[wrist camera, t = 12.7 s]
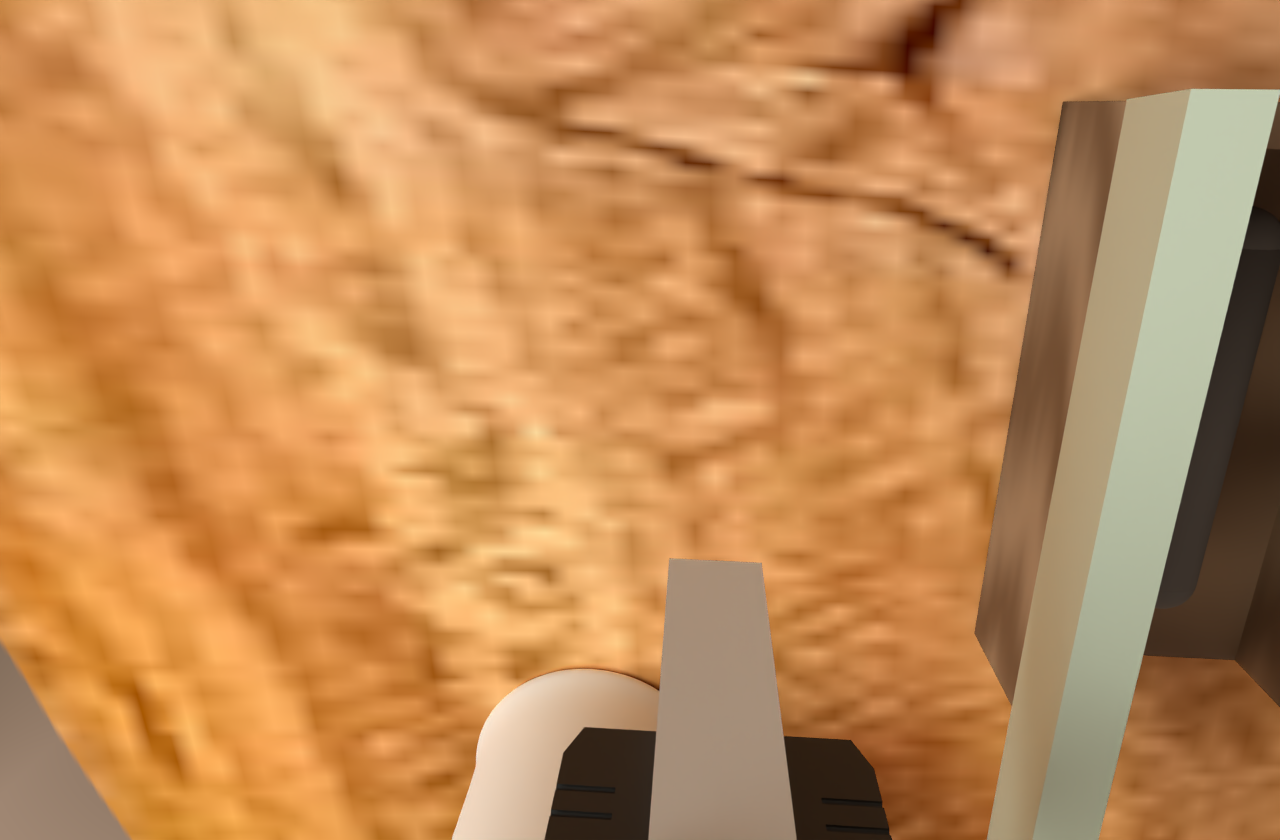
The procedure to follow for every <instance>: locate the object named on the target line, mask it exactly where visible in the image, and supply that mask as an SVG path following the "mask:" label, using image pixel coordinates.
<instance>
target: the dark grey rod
mask: <svg viewBox="0 0 1280 840" xmlns="http://www.w3.org/2000/svg"><path fill="white" fill-rule="evenodd" d="M1279 266H1280V222H1279V221H1278V219H1277V218H1276V217H1275V216H1274V215H1273V214H1272V213H1270V212H1268V211H1266V210H1265V209H1262V208H1259V207H1256V206H1252V210H1251V214H1250V218H1249V222H1248V227H1247V231H1246V235H1245V239H1244V243H1243V247H1242V251H1241V255H1240V259H1239V264H1238V268H1237V272H1236V276H1235V280H1234V284H1233V288H1232V292H1231V296H1230V300H1229V305H1228V309H1227V313H1226V317H1225V321H1224V325H1223V329H1222V333H1221V337H1220V342H1219V346H1218V350H1217V354H1216V358H1215V362H1214V366H1213V370H1212V374H1211V379H1210V383H1209V387H1208V391H1207V395H1206V399H1205V403H1204V407H1203V411H1202V416H1201V420H1200V424H1199V428H1198V432H1197V436H1196V440H1195V444H1194V448H1193V453H1192V457H1191V461H1190V465H1189V469H1188V473H1187V477H1186V481H1185V485H1184V490H1183V494H1182V498H1181V502H1180V506H1179V510H1178V514H1177V518H1176V522H1175V526H1174V531H1173V535H1172V539H1171V543H1170V547H1169V551H1168V555H1167V559H1166V563H1165V568H1164V572H1163V576H1162V580H1161V584H1160V588H1159V592H1158V596H1157V600H1156V605H1155V608H1158V609H1168V608H1173V607H1176V606H1179V605H1181V604H1183V603H1184V602H1186V601H1187V600H1188V599H1189V598H1190V597H1191V595H1192V594H1193V593H1194V591H1195V588H1196V586H1197V582H1198V578H1199V574H1200V571H1201V567H1202V563H1203V559H1204V555H1205V551H1206V547H1207V544H1208V540H1209V536H1210V532H1211V528H1212V524H1213V520H1214V517H1215V513H1216V509H1217V505H1218V501H1219V497H1220V493H1221V490H1222V486H1223V482H1224V478H1225V474H1226V470H1227V466H1228V463H1229V459H1230V455H1231V451H1232V447H1233V443H1234V439H1235V436H1236V432H1237V428H1238V424H1239V420H1240V416H1241V412H1242V408H1243V405H1244V401H1245V397H1246V393H1247V389H1248V385H1249V381H1250V378H1251V374H1252V370H1253V366H1254V362H1255V358H1256V354H1257V351H1258V347H1259V343H1260V339H1261V335H1262V331H1263V327H1264V324H1265V320H1266V316H1267V312H1268V308H1269V304H1270V300H1271V297H1272V293H1273V289H1274V285H1275V281H1276V277H1277V273H1278V270H1279Z"/></svg>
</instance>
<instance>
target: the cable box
mask: <svg viewBox="0 0 1280 840" xmlns="http://www.w3.org/2000/svg"><path fill="white" fill-rule="evenodd" d="M1125 107H1126V101H1090V102H1063V105H1062V111H1061V117H1060V123H1059V129H1058V135H1057V141H1056V147H1055V153H1054V159H1053V165H1052V171H1051V177H1050V183H1049V189H1048V195H1047V201H1046V207H1045V213H1044V219H1043V225H1042V231H1041V237H1040V243H1039V249H1038V255H1037V261H1036V267H1035V273H1034V279H1033V285H1032V291H1031V297H1030V303H1029V309H1028V315H1027V321H1026V327H1025V333H1024V339H1023V345H1022V351H1021V357H1020V363H1019V369H1018V375H1017V381H1016V387H1015V393H1014V399H1013V405H1012V411H1011V417H1010V423H1009V429H1008V435H1007V441H1006V447H1005V453H1004V459H1003V465H1002V471H1001V477H1000V483H999V489H998V495H997V501H996V507H995V513H994V519H993V525H992V531H991V537H990V543H989V549H988V555H987V561H986V567H985V573H984V579H983V585H982V591H981V597H980V603H979V609H978V615H977V621H976V627H975V635H976V637H977V639H978V641H979V643H980V645H981V647H982V649H983V651H984V653H985V655H986V657H987V659H988V661H989V663H990V665H991V667H992V668H993V670H994V672H995V674H996V676H997V678H998V680H999V682H1000V684H1001V686H1002V688H1003V690H1004V692H1005V694H1006V696H1007V698H1008V700H1009V702H1010V704H1011V705H1012V704H1013V699H1014V693H1015V688H1016V683H1017V677H1018V672H1019V667H1020V662H1021V656H1022V651H1023V646H1024V640H1025V635H1026V630H1027V625H1028V619H1029V614H1030V609H1031V603H1032V598H1033V593H1034V588H1035V582H1036V577H1037V572H1038V566H1039V561H1040V556H1041V551H1042V545H1043V540H1044V535H1045V529H1046V524H1047V519H1048V514H1049V508H1050V503H1051V498H1052V492H1053V487H1054V482H1055V477H1056V471H1057V466H1058V461H1059V455H1060V450H1061V445H1062V440H1063V434H1064V429H1065V424H1066V418H1067V413H1068V408H1069V403H1070V397H1071V392H1072V387H1073V381H1074V376H1075V371H1076V366H1077V360H1078V355H1079V350H1080V344H1081V339H1082V334H1083V329H1084V323H1085V318H1086V313H1087V307H1088V302H1089V297H1090V292H1091V286H1092V281H1093V276H1094V270H1095V265H1096V260H1097V255H1098V249H1099V244H1100V239H1101V233H1102V228H1103V223H1104V218H1105V212H1106V207H1107V202H1108V196H1109V191H1110V186H1111V181H1112V175H1113V170H1114V165H1115V160H1116V154H1117V149H1118V144H1119V138H1120V133H1121V128H1122V123H1123V117H1124V112H1125ZM1253 206H1256V207H1259V208H1262V209H1265V210H1266V211H1268V212H1270V213H1272V214H1273V215H1274V216H1275V217H1276V218H1277V219H1278V221H1279V222H1280V102H1278V103H1277V107H1276V111H1275V116H1274V120H1273V124H1272V128H1271V132H1270V136H1269V140H1268V144H1267V148H1266V153H1265V157H1264V161H1263V165H1262V169H1261V173H1260V177H1259V181H1258V185H1257V190H1256V194H1255V198H1254V202H1253ZM1143 655H1147V656H1166V657H1186V658H1205V659H1224V660H1235V661H1236V662H1237V663H1238V664H1239V665H1240V666H1241V667H1242V668H1243V669H1244V670H1245V671H1246V672H1247V673H1248V674H1249V675H1250V676H1251V677H1252V678H1253V679H1254V681H1255V682H1256V683H1257V684H1258V685H1259V686H1260V687H1261V688H1262V689H1263V690H1264V691H1265V692H1266V693H1267V694H1268V695H1269V696H1270V697H1271V698H1272V699H1273V700H1274V701H1275V702H1276V703H1277V705H1278V706H1279V707H1280V266H1279V270H1278V273H1277V277H1276V281H1275V285H1274V289H1273V293H1272V297H1271V300H1270V304H1269V308H1268V312H1267V316H1266V320H1265V324H1264V327H1263V331H1262V335H1261V339H1260V343H1259V347H1258V351H1257V354H1256V358H1255V362H1254V366H1253V370H1252V374H1251V378H1250V381H1249V385H1248V389H1247V393H1246V397H1245V401H1244V405H1243V408H1242V412H1241V416H1240V420H1239V424H1238V428H1237V432H1236V436H1235V439H1234V443H1233V447H1232V451H1231V455H1230V459H1229V463H1228V466H1227V470H1226V474H1225V478H1224V482H1223V486H1222V490H1221V493H1220V497H1219V501H1218V505H1217V509H1216V513H1215V517H1214V520H1213V524H1212V528H1211V532H1210V536H1209V540H1208V544H1207V547H1206V551H1205V555H1204V559H1203V563H1202V567H1201V571H1200V574H1199V578H1198V582H1197V586H1196V588H1195V591H1194V593H1193V594H1192V595H1191V597H1190V598H1189V599H1188V600H1187V601H1186V602H1184V603H1183V604H1181V605H1179V606H1176V607H1173V608H1168V609H1158V608H1155V609H1154V613H1153V617H1152V621H1151V625H1150V629H1149V633H1148V637H1147V642H1146V646H1145V650H1144V654H1143Z"/></svg>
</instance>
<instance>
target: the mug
mask: <svg viewBox="0 0 1280 840" xmlns="http://www.w3.org/2000/svg"><path fill="white" fill-rule="evenodd" d="M658 704H659V691H658V690H657V689H655V688H653V687H652V686H650V685H648V684H646V683H644V682H642V681H640V680H637V679H635V678H632V677H629V676H626V675H623V674H620V673H616V672H611V671H605V670H598V669H570V670H562V671H557V672H552V673H548V674H545V675H542V676H539V677H537V678H534V679H532V680H530V681H528V682H526V683H524V684H522V685H520V686H519V687H517V688H516V689H514V690H513V691H511V692H510V693H509V694H508V695H506V696H505V697H504V698H503V699H502V700H501V701H500V702H499V703H498V704H497V706H496V707H495V708H494V709H493V711H492V712H491V713H490V715H489V717H488V718H487V720H486V722H485V724H484V726H483V728H482V731H481V734H480V737H479V741H478V746H477V754H476V768H475V771H474V775H473V778H472V781H471V784H470V787H469V790H468V793H467V796H466V799H465V802H464V805H463V808H462V811H461V814H460V817H459V820H458V823H457V826H456V828H455V831H454V834H453V837H452V840H544V839H545V835H546V830H547V825H548V821H549V816H550V815H551V807H552V802H553V798H554V793H555V790H556V784H557V779H558V774H559V770H560V765H561V761H562V756H563V752H564V751H565V750H566V749H567V747H568V746H569V745H570V744H571V743H572V741H573V740H574V739H575V738H576V737H577V735H578V734H579V733H580V732H581V730H582V729H583V728H584V727H593V728H609V729H626V730H643V731H656V730H657V717H658Z"/></svg>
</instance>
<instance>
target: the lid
mask: <svg viewBox="0 0 1280 840" xmlns="http://www.w3.org/2000/svg"><path fill="white" fill-rule="evenodd" d="M1279 95H1280V90H1262V89H1187V90H1181V91H1175V92H1169V93H1163V94H1156V95H1150V96H1144V97H1138V98H1132V99H1127V101H1126V107H1125V112H1124V117H1123V123H1122V128H1121V133H1120V138H1119V144H1118V149H1117V154H1116V160H1115V165H1114V170H1113V175H1112V181H1111V186H1110V191H1109V196H1108V202H1107V207H1106V212H1105V218H1104V223H1103V228H1102V233H1101V239H1100V244H1099V249H1098V255H1097V260H1096V265H1095V270H1094V276H1093V281H1092V286H1091V292H1090V297H1089V302H1088V307H1087V313H1086V318H1085V323H1084V329H1083V334H1082V339H1081V344H1080V350H1079V355H1078V360H1077V366H1076V371H1075V376H1074V381H1073V387H1072V392H1071V397H1070V403H1069V408H1068V413H1067V418H1066V424H1065V429H1064V434H1063V440H1062V445H1061V450H1060V455H1059V461H1058V466H1057V471H1056V477H1055V482H1054V487H1053V492H1052V498H1051V503H1050V508H1049V514H1048V519H1047V524H1046V529H1045V535H1044V540H1043V545H1042V551H1041V556H1040V561H1039V566H1038V572H1037V577H1036V582H1035V588H1034V593H1033V598H1032V603H1031V609H1030V614H1029V619H1028V625H1027V630H1026V635H1025V640H1024V646H1023V651H1022V656H1021V662H1020V667H1019V672H1018V677H1017V683H1016V688H1015V693H1014V699H1013V704H1012V709H1011V714H1010V720H1009V725H1008V730H1007V736H1006V741H1005V746H1004V751H1003V757H1002V762H1001V767H1000V773H999V778H998V783H997V788H996V794H995V799H994V804H993V810H992V815H991V820H990V825H989V831H988V836H987V840H1098V839H1099V835H1100V831H1101V826H1102V822H1103V818H1104V814H1105V810H1106V806H1107V802H1108V798H1109V794H1110V789H1111V785H1112V781H1113V777H1114V773H1115V769H1116V765H1117V761H1118V757H1119V752H1120V748H1121V744H1122V740H1123V736H1124V732H1125V728H1126V724H1127V720H1128V715H1129V711H1130V707H1131V703H1132V699H1133V695H1134V691H1135V687H1136V683H1137V679H1138V674H1139V670H1140V666H1141V662H1142V658H1143V654H1144V650H1145V646H1146V642H1147V637H1148V633H1149V629H1150V625H1151V621H1152V617H1153V613H1154V609H1155V605H1156V600H1157V596H1158V592H1159V588H1160V584H1161V580H1162V576H1163V572H1164V568H1165V563H1166V559H1167V555H1168V551H1169V547H1170V543H1171V539H1172V535H1173V531H1174V526H1175V522H1176V518H1177V514H1178V510H1179V506H1180V502H1181V498H1182V494H1183V490H1184V485H1185V481H1186V477H1187V473H1188V469H1189V465H1190V461H1191V457H1192V453H1193V448H1194V444H1195V440H1196V436H1197V432H1198V428H1199V424H1200V420H1201V416H1202V411H1203V407H1204V403H1205V399H1206V395H1207V391H1208V387H1209V383H1210V379H1211V374H1212V370H1213V366H1214V362H1215V358H1216V354H1217V350H1218V346H1219V342H1220V337H1221V333H1222V329H1223V325H1224V321H1225V317H1226V313H1227V309H1228V305H1229V300H1230V296H1231V292H1232V288H1233V284H1234V280H1235V276H1236V272H1237V268H1238V264H1239V259H1240V255H1241V251H1242V247H1243V243H1244V239H1245V235H1246V231H1247V227H1248V222H1249V218H1250V214H1251V210H1252V206H1253V202H1254V198H1255V194H1256V190H1257V185H1258V181H1259V177H1260V173H1261V169H1262V165H1263V161H1264V157H1265V153H1266V148H1267V144H1268V140H1269V136H1270V132H1271V128H1272V124H1273V120H1274V116H1275V111H1276V107H1277V103H1278V99H1279Z"/></svg>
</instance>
